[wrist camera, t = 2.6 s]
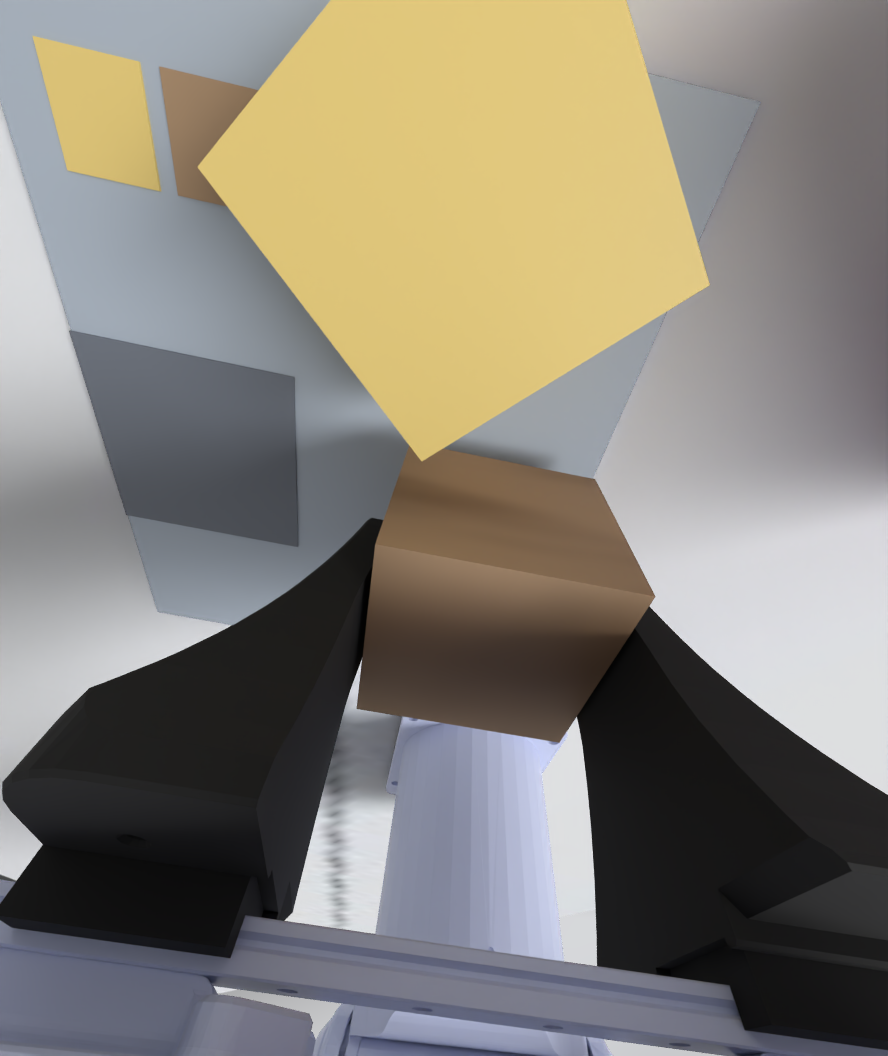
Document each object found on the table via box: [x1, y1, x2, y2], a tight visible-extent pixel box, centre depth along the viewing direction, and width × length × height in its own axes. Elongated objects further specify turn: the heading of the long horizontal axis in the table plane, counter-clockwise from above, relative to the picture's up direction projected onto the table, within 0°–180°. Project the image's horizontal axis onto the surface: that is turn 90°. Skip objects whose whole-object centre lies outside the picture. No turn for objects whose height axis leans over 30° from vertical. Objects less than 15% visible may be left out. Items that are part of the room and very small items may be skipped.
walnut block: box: [357, 446, 655, 743], centre depth 10 cm, size 5×5×4 cm
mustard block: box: [198, 0, 710, 461], centre depth 7 cm, size 5×5×4 cm
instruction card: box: [0, 0, 761, 625], centre depth 13 cm, size 18×15×1 cm
